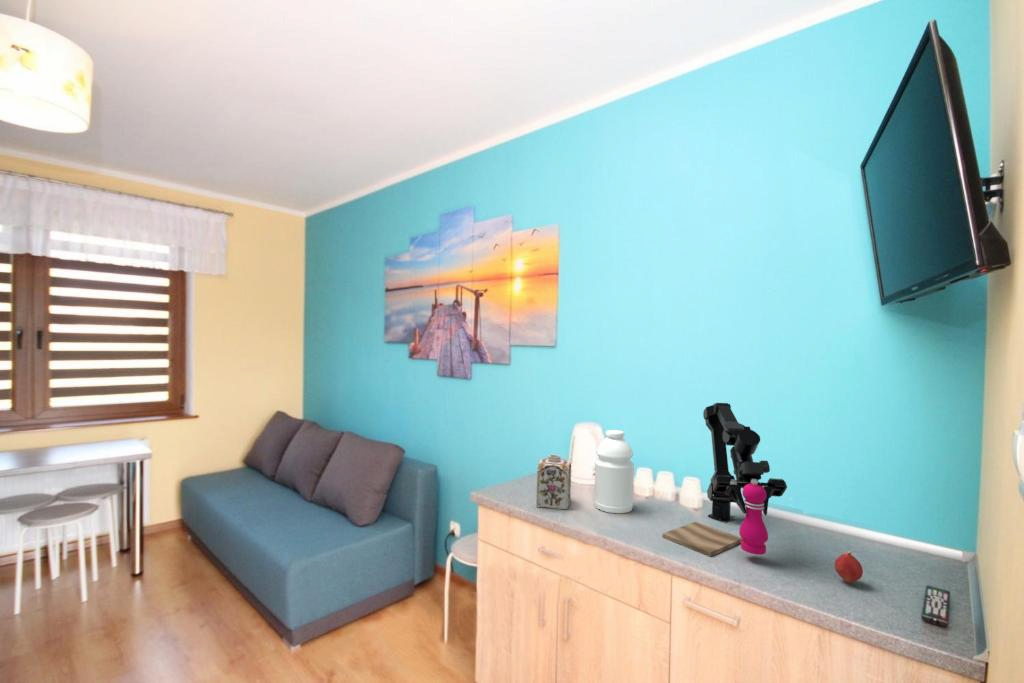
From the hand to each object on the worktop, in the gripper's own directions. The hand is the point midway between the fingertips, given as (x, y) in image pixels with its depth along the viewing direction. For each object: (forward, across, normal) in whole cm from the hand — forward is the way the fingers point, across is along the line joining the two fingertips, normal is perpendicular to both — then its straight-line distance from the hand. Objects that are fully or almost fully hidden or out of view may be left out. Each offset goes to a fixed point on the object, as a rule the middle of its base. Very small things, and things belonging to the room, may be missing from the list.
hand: (755, 513), depth 128 cm
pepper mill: (+7, 0, +9) cm, 11 cm away
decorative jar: (-15, -59, +35) cm, 70 cm away
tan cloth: (+1, -11, +18) cm, 21 cm away
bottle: (-16, -37, +36) cm, 53 cm away
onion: (+15, +20, +4) cm, 25 cm away
